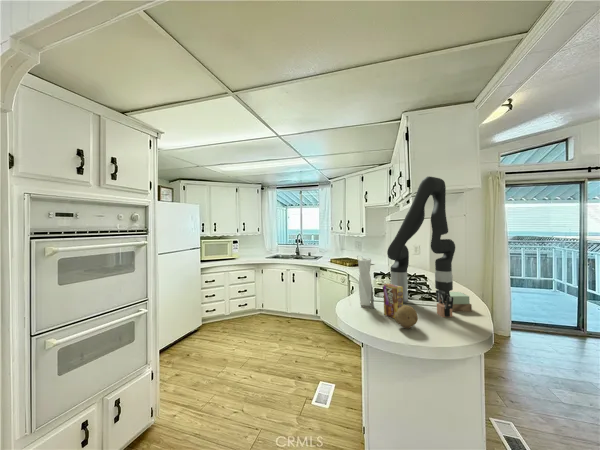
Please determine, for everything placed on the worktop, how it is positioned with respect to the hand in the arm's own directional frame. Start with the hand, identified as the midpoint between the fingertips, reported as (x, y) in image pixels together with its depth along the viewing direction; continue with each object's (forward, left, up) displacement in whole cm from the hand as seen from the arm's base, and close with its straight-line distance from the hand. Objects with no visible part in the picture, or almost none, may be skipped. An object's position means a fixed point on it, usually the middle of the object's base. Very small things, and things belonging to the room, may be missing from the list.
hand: (444, 314), depth 125 cm
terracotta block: (0, 0, 0) cm, 0 cm away
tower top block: (+10, +11, +3) cm, 15 cm away
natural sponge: (-23, -18, -1) cm, 29 cm away
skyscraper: (-36, +14, -1) cm, 39 cm away
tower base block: (+10, +11, -1) cm, 15 cm away
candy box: (-25, -3, -1) cm, 25 cm away
